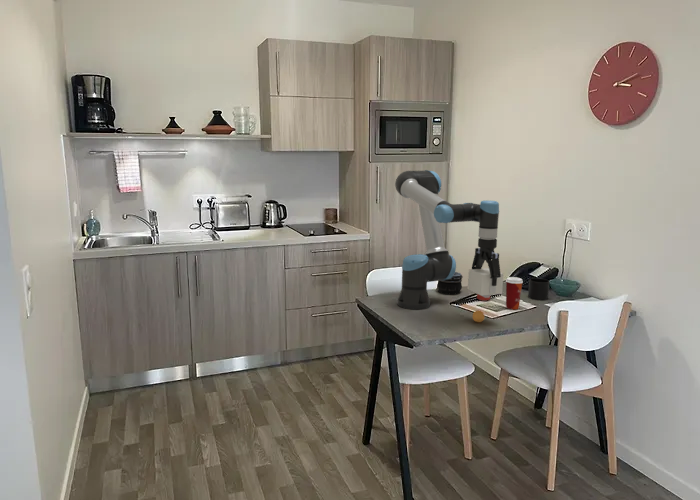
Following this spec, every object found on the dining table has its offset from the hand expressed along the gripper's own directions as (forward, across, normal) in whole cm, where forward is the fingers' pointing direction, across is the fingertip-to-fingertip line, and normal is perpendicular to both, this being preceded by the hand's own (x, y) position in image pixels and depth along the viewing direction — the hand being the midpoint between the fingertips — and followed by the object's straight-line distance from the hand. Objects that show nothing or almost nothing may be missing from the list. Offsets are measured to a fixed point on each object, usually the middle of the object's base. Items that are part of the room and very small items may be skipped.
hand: (484, 289), depth 222 cm
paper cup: (+14, +13, -25) cm, 31 cm away
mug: (+14, +24, -49) cm, 57 cm away
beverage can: (+14, +29, -20) cm, 38 cm away
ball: (+11, 0, +2) cm, 12 cm away
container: (+14, +46, -11) cm, 50 cm away
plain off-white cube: (+1, 0, 0) cm, 1 cm away
